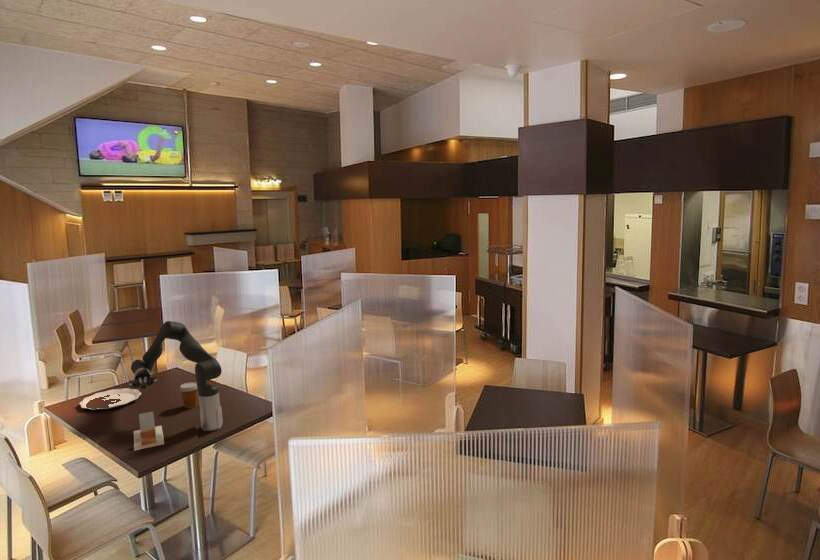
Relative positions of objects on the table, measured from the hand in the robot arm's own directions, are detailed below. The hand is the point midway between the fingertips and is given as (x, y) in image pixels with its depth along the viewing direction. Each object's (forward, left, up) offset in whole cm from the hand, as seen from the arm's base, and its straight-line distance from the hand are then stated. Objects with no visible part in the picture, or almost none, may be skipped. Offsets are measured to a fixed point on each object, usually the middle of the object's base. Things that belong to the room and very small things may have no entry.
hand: (143, 387), depth 252 cm
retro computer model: (-6, +14, -17) cm, 23 cm away
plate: (+33, -33, -20) cm, 50 cm away
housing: (-8, +18, -19) cm, 28 cm away
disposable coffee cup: (-14, -21, -19) cm, 32 cm away
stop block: (-11, +24, -18) cm, 32 cm away
